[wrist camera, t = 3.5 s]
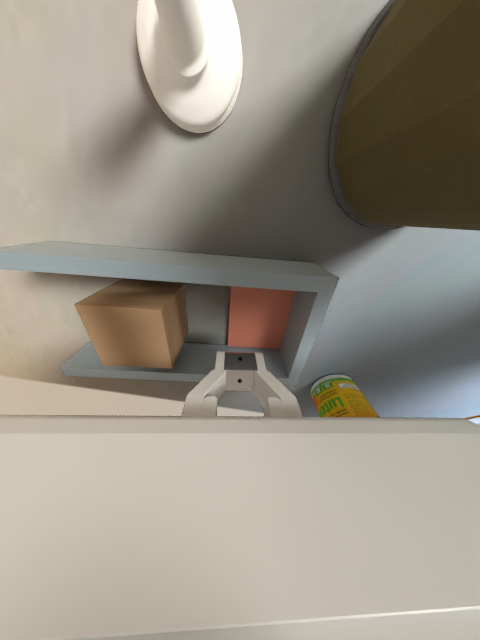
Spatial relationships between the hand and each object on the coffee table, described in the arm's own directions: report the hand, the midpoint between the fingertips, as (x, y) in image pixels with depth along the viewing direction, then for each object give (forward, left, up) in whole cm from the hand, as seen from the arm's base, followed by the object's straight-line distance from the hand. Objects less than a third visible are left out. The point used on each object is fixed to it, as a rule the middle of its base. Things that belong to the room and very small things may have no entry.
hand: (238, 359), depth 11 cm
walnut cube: (+7, -1, -6) cm, 9 cm away
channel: (+4, -1, -6) cm, 7 cm away
